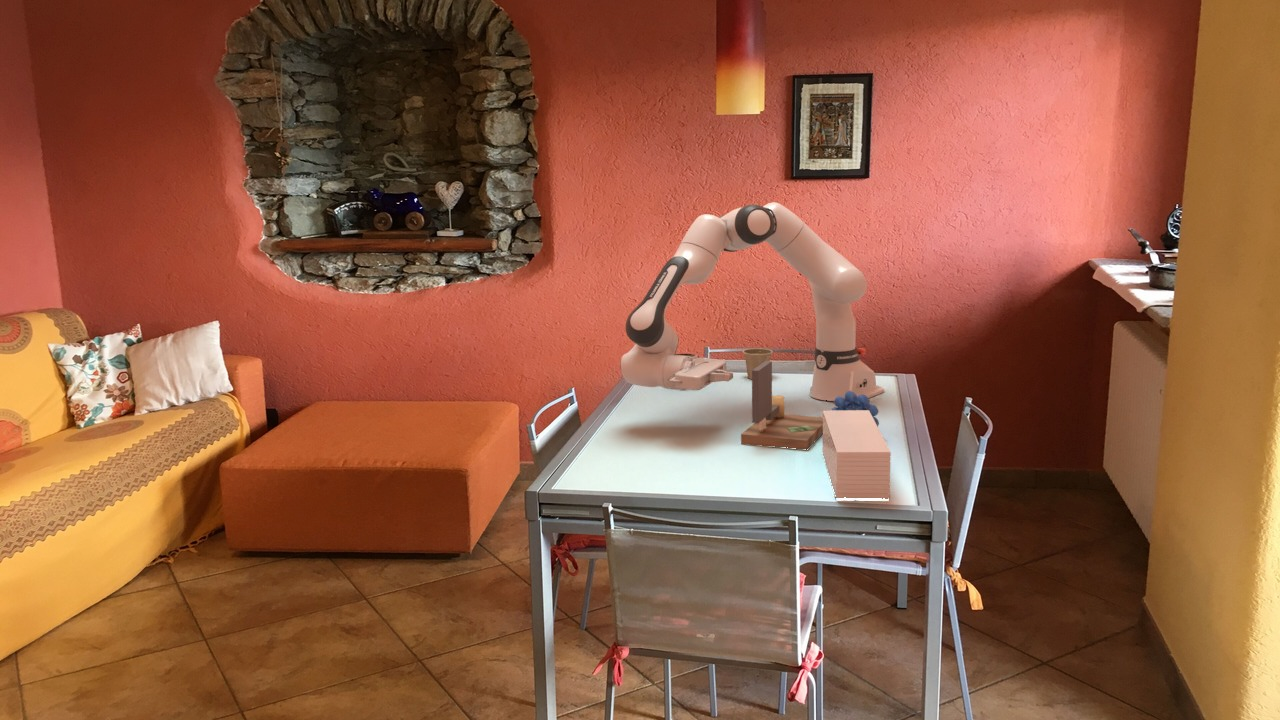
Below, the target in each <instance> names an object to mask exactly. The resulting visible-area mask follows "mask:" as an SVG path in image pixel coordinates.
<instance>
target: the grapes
mask: <svg viewBox="0 0 1280 720" xmlns="http://www.w3.org/2000/svg"><path fill="white" fill-rule="evenodd" d="M833 402H834V405H835V406H836V407H833V408H832V409H831V410H869V411H870V413H871V415H872V417H873V419H874V421H875V423H876V425H877V427H878V428H879V425H880V421H879V419H878V418H877V417H876V416H878V414H879V409H878V407H877V406H876V405H875V404H873V403H870V398H868V397H867V396H866V395H863V394H861V395H859V396H858V397H857V395H856V394H855V393H854V392H851V391H848V392H846V393H845V398H844V397H840V396H838V397H836V398H835V401H833Z"/></svg>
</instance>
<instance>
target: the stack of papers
mask: <svg viewBox="0 0 1280 720" xmlns="http://www.w3.org/2000/svg"><path fill="white" fill-rule="evenodd" d="M822 417H823V434H822V445H821V446H822V449H821V450H822V452H823V454H822V457H823V456H824V457H823V459H825V461H824V464H825V463H826V464H825V467H826V466H827V468H826V470H827V469H828V471H827V474H828V473H829V475H828V477H829V476H830V478H829V480H830V479H831V482H830V484H831V483H832V485H831V487H832V486H833V489H834V492H835V495H836V498H844V497H846V498H882V499H883V498H885V499H888V498H889V499H890V495H891V494H890V492H891V491H890V490H891V489H890V488H891V459H892V458H891V455H892V454H891V453H892V451H891V450H890V448H889V447H888V444H887V442H886V440H885V438H884V436H883V435H882V433H881V431H880V429H879V426H878V427H877V425H876V423H875V421H874V419H873V417H872V415H871V413H870V411H869V410H832V409H829V410H822ZM833 489H832V490H833ZM834 492H833V493H834Z"/></svg>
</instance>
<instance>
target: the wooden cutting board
mask: <svg viewBox="0 0 1280 720" xmlns="http://www.w3.org/2000/svg"><path fill="white" fill-rule="evenodd" d="M822 433H823V416H822V417H821V416H808V415H800V414H799V415H798V414H797V415H796V414H786V413H784V417H774V418H773V419H772V420H766V427H765V428H764V429H763V430H759V423H752V425H750V426H749V427H748V428H746V429H745V430H744V431H743V432H742V433H741V434H740V441H741V444H740V445H746V444H749V446H756V445H762V446H761V447H766V446H775V447H774V448H776V447H786V448H787V447H788V448H796V449H806V450H807V449H808V448H809V447H810V446H811V445H812V444H813V445H814V443H815V442H816V441H817V440H818V439H819V438H820V437H821V436H822V435H823V434H822ZM821 434H822V435H821ZM820 435H821V436H820ZM819 436H820V437H819ZM818 437H819V438H818ZM817 438H818V439H817ZM816 439H817V440H816ZM815 440H816V441H815ZM814 441H815V442H814ZM813 445H812V446H813ZM812 446H811V447H812ZM811 447H810V448H811ZM786 448H785V449H786ZM810 448H809V449H810ZM796 449H795V450H796ZM809 449H808V450H809ZM806 450H805V451H806ZM808 450H807V451H808Z"/></svg>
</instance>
